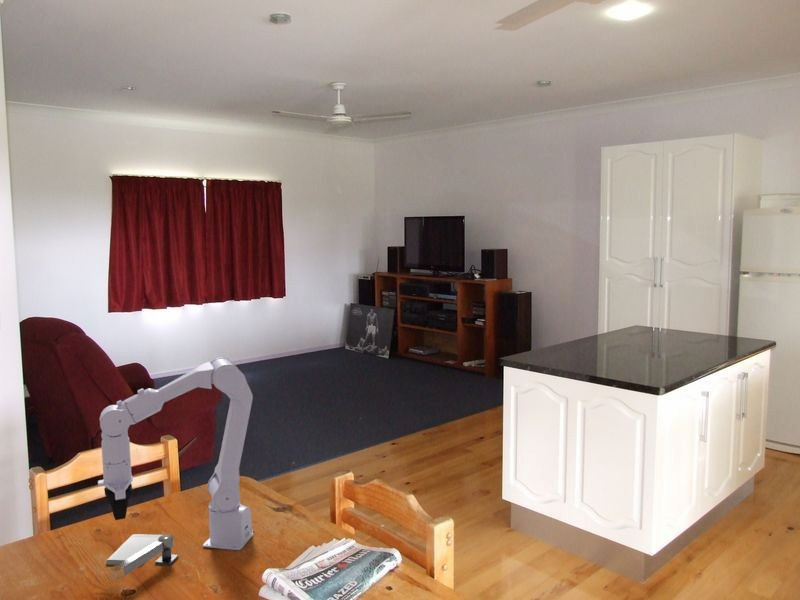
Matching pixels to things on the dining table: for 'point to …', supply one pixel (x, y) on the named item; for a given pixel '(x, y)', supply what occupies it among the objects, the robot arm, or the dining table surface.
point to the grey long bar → (141, 557)
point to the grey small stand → (166, 558)
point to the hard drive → (131, 547)
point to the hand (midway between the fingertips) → (120, 518)
